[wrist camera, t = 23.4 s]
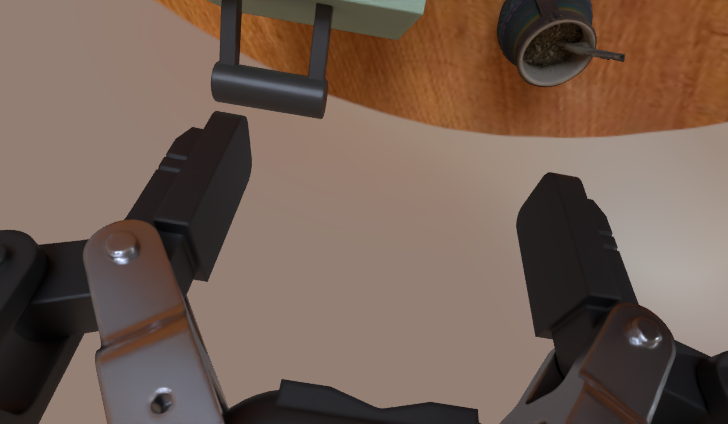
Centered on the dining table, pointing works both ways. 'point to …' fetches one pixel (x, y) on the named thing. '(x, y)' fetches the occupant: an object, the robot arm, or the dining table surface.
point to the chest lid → (325, 11)
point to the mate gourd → (549, 39)
